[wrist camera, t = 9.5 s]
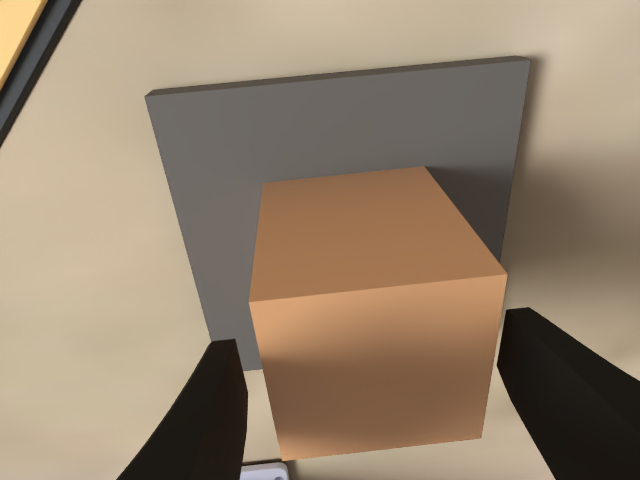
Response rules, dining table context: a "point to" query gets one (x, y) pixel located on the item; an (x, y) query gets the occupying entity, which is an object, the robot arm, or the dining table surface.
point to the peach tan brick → (372, 313)
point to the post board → (329, 156)
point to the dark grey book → (26, 48)
